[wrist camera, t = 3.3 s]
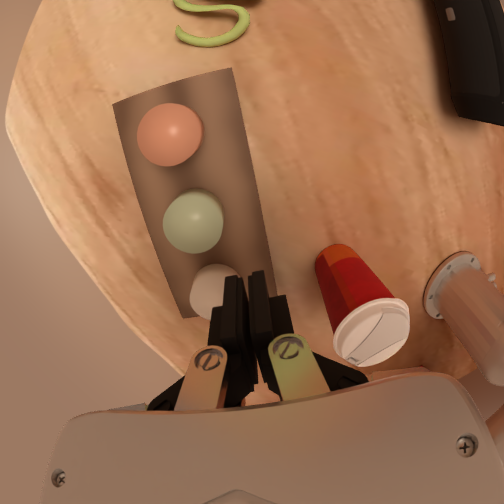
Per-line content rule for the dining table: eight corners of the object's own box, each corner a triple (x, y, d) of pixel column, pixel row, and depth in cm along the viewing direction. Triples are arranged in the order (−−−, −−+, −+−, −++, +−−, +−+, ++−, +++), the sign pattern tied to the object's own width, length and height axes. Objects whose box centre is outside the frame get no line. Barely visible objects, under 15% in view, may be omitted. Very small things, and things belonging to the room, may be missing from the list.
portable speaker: (401, -48, 14) (438, -74, 5) (453, -27, 13) (493, -41, 5) (436, 113, 25) (492, 121, 16) (483, 122, 25) (534, 134, 16)
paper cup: (332, 298, 37) (365, 379, 24) (293, 267, 34) (318, 351, 22) (375, 259, 34) (427, 330, 22) (339, 222, 32) (392, 290, 19)
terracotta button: (197, 97, 21) (191, 95, 18) (210, 153, 23) (206, 157, 21) (142, 114, 21) (130, 114, 19) (155, 167, 24) (145, 173, 21)
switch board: (232, 72, 24) (231, 67, 21) (276, 288, 35) (278, 303, 33) (124, 104, 24) (112, 104, 22) (186, 303, 36) (182, 318, 34)
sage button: (217, 182, 25) (214, 190, 22) (229, 234, 27) (228, 247, 24) (163, 195, 25) (155, 204, 22) (179, 244, 27) (173, 258, 25)
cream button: (236, 259, 28) (235, 274, 26) (246, 300, 31) (247, 316, 28) (187, 268, 28) (182, 283, 26) (201, 307, 31) (198, 324, 28)
